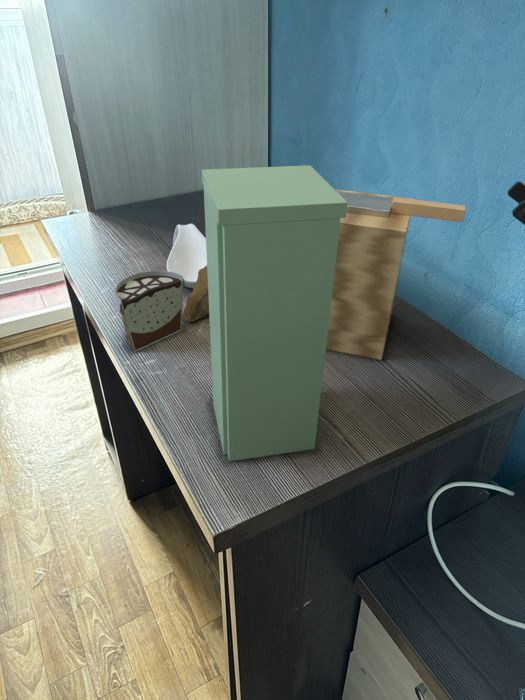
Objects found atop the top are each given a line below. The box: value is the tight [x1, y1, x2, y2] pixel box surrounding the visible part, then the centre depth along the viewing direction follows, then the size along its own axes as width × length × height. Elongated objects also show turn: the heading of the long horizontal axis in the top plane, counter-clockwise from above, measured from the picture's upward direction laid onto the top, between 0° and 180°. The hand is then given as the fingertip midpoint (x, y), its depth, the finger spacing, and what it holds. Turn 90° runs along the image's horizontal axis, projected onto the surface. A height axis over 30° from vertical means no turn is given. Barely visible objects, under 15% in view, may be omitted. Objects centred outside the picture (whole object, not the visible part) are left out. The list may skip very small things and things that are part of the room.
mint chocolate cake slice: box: [113, 270, 186, 353], centre depth 84 cm, size 12×6×10 cm, turn 134°
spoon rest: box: [166, 223, 207, 289], centre depth 104 cm, size 24×12×7 cm, turn 17°
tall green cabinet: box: [201, 164, 347, 462], centre depth 60 cm, size 12×12×32 cm
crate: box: [326, 188, 414, 361], centre depth 83 cm, size 16×14×22 cm
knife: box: [337, 191, 467, 223], centre depth 75 cm, size 23×6×2 cm, turn 72°
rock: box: [182, 265, 209, 323], centre depth 92 cm, size 11×9×10 cm
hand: (514, 196), depth 69 cm, fingers open, 8 cm apart
